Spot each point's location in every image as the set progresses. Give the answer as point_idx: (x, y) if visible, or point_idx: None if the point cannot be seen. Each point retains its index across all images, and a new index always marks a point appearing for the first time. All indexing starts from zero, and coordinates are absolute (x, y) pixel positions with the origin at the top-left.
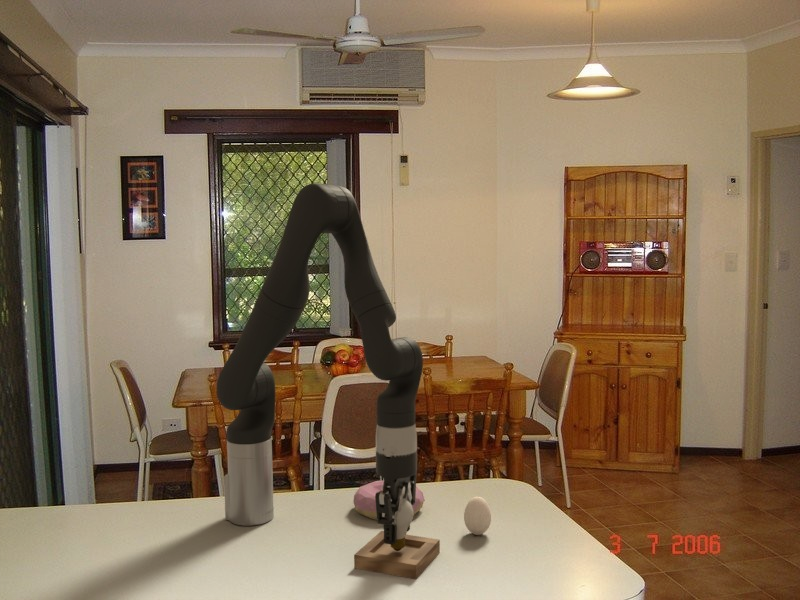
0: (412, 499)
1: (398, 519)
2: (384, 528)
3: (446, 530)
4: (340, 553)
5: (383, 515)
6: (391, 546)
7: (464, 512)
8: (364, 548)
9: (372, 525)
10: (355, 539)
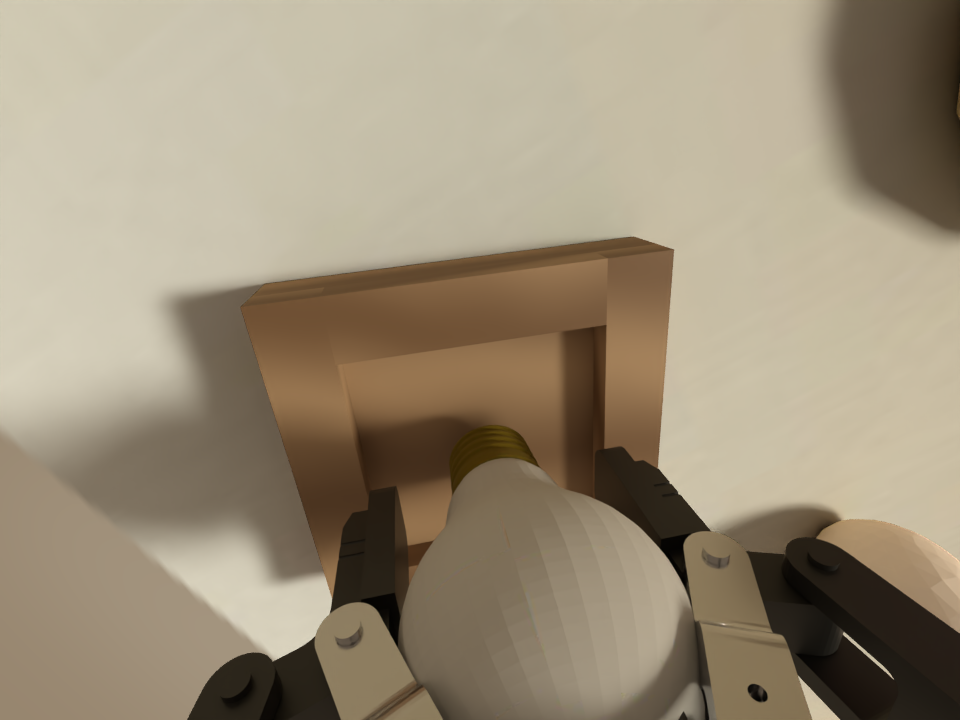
0: (799, 672)
1: None
2: (334, 596)
3: (850, 425)
4: (394, 71)
5: (333, 693)
6: (461, 443)
7: (915, 575)
8: (367, 311)
9: (876, 24)
10: (636, 40)
